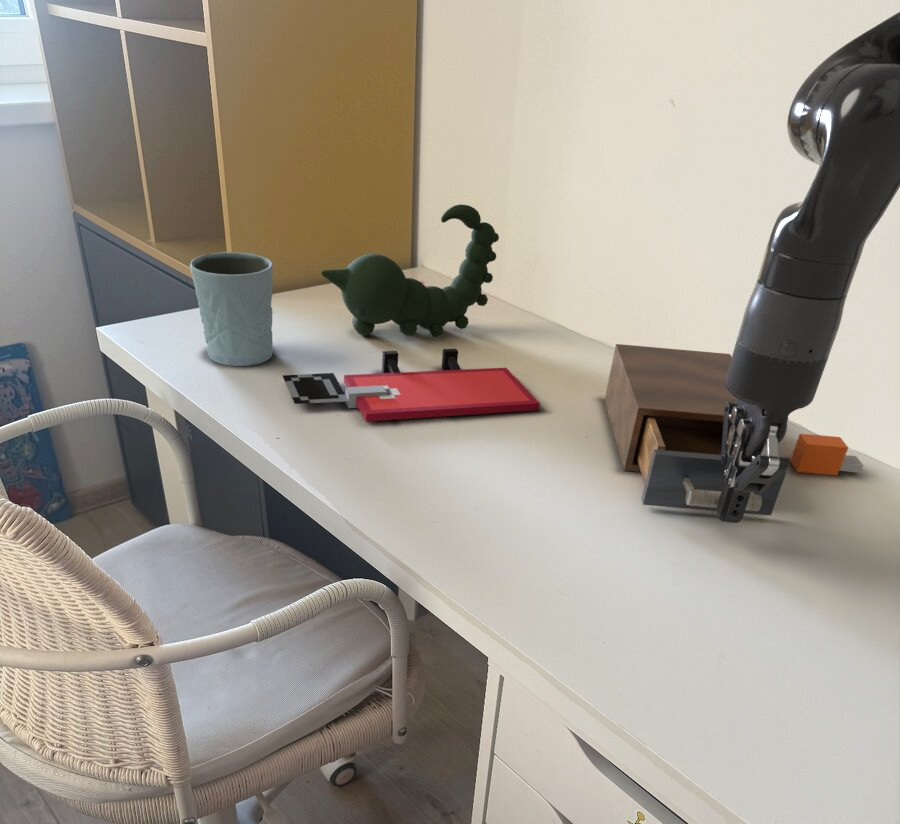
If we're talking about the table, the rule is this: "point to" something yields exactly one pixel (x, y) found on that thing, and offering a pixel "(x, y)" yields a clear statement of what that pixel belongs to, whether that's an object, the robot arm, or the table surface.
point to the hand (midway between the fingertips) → (727, 518)
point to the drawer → (689, 466)
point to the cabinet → (663, 390)
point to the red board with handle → (417, 390)
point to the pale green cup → (235, 306)
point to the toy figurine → (417, 285)
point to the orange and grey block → (823, 455)
